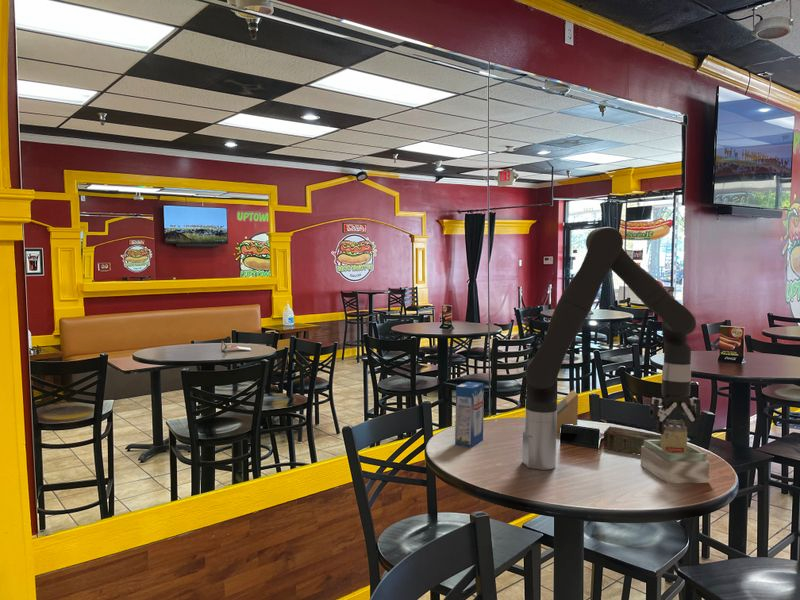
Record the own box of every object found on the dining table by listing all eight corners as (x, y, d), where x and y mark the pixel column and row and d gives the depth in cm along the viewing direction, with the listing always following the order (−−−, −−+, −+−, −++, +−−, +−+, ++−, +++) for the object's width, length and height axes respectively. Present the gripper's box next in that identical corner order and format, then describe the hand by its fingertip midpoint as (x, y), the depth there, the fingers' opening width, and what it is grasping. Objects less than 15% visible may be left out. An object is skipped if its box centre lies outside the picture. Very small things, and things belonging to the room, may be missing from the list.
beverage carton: (664, 460, 177) (665, 439, 177) (602, 449, 188) (602, 430, 187) (668, 453, 183) (669, 433, 183) (607, 443, 194) (608, 424, 194)
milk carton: (472, 447, 187) (472, 388, 186) (455, 444, 191) (455, 386, 190) (483, 440, 196) (484, 383, 195) (466, 437, 199) (467, 381, 198)
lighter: (661, 454, 163) (662, 420, 162) (658, 450, 167) (659, 417, 166) (688, 456, 162) (689, 422, 161) (684, 452, 165) (685, 418, 165)
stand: (667, 483, 156) (668, 455, 156) (640, 465, 171) (641, 439, 171) (708, 482, 157) (709, 454, 157) (678, 464, 172) (679, 438, 172)
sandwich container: (531, 427, 214) (532, 388, 213) (572, 428, 212) (573, 389, 212) (534, 433, 205) (535, 392, 205) (577, 435, 204) (578, 394, 203)
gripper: (692, 376, 167) (689, 429, 168) (646, 375, 166) (644, 429, 167) (707, 380, 160) (705, 437, 161) (659, 380, 159) (657, 437, 160)
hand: (674, 433), depth 164 cm, fingers open, 8 cm apart
